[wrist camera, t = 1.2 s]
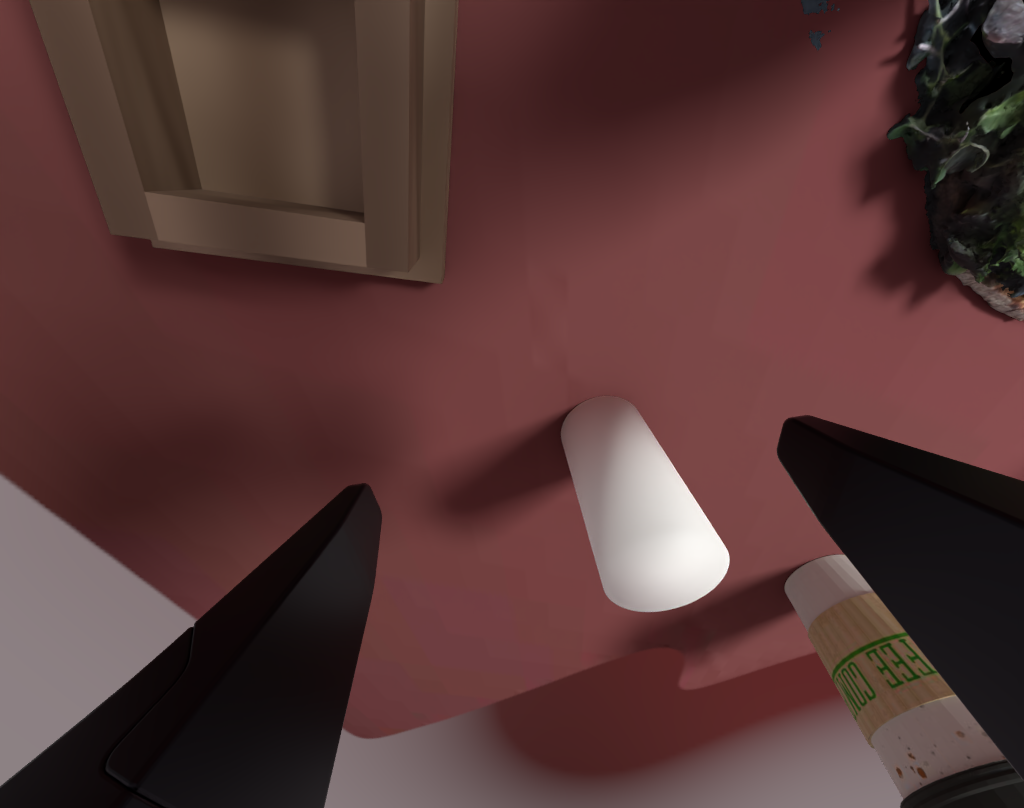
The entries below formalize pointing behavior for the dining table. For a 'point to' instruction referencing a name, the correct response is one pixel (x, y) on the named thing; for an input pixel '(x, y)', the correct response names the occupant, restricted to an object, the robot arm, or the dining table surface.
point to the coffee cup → (899, 695)
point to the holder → (266, 125)
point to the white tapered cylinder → (638, 510)
